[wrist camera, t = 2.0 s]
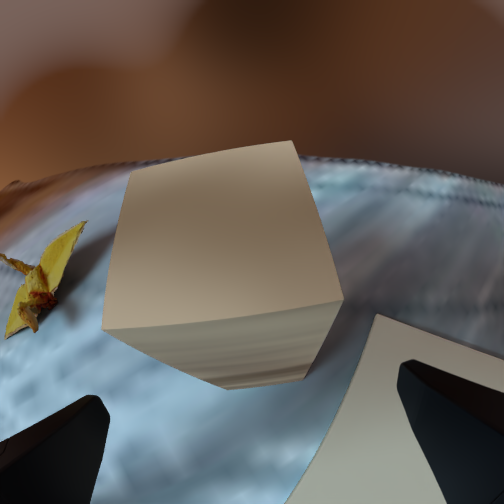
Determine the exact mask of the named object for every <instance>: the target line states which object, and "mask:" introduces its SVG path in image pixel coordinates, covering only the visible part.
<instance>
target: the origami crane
mask: <svg viewBox="0 0 504 504" xmlns="http://www.w3.org/2000/svg"><path fill="white" fill-rule="evenodd" d="M87 221H88V220H87ZM87 221H82V222H80V223H79V224H77V225H75V226H73V227H71V228H70V229H69V230H67V231H65V232H63V233H62V234H60V235H59V236H58V237H57V238H55V239H54V240H53V241H51V242H50V244H49V245H48V246H47V247H46V248H45V251H44V252H43V254H42V256H41V259H40V263H39V265H38V266H37V267H35V266H31V265H27V264H24V263H23V262H22V261H19V260H17V259H12V258H10V259H7V258H6V256H5V254H1V253H0V260H1V261H2V262H4V263H5V264H6V265H8V266H10V267H11V268H13V269H15V270H18V271H21V272H22V273H23V274H25V275H26V277H25V284H23V285H22V284H21V287H20V288H19V289H18V291H17V294H16V297H15V301H14V304H13V307H12V310H11V313H10V316H9V320H8V323H7V325H6V333H5V339H7V338H8V337H9V336H12V335H13V334H14V333H16V332H17V331H18V330H20V329H22V328H24V327H27V326H29V327H30V328H31V329H32V330H33V332H34V333H35V332H36V331H38V327H39V326H38V321H37V319H36V317H37V315H38V314H39V313H40V312H41V307H43V308H47V307H49V308H48V309H49V310H50V309H52V308H53V306H54V305H56V304H57V302H58V301H57V298H54V292H55V290H56V289H57V288H58V287H57V286H58V285H59V284H60V283H61V281H60V280H61V278H62V277H64V273H63V271H64V268H65V266H66V264H67V263H68V260H69V257H70V256H71V254H72V252H73V250H74V246H75V244H77V242H78V238H79V236H80V234H81V233H82V232H83V229H84V225H85V223H87Z"/></svg>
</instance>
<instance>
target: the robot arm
mask: <svg viewBox="0 0 504 504" xmlns="http://www.w3.org/2000/svg"><path fill="white" fill-rule="evenodd" d="M397 391H398V394H399V397H400V399H401V402H402V404H403V407H404V410H405V412H406V415H407V418H408V421H409V423H410V426H411V429H412V431H413V433H414V435H415V437H416V439H417V441H418V443H419V445H420V447H421V449H422V451H423V453H424V456H425V458H426V460H427V462H428V464H429V466H430V468H431V470H432V472H433V474H434V476H435V479H436V481H437V483H438V485H439V487H440V490H441V492H442V494H443V496H444V499H445V501H446V503H447V504H504V392H501V391H498V390H495V389H492V388H489V387H486V386H484V385H481V384H478V383H475V382H473V381H470V380H467V379H464V378H462V377H459V376H456V375H454V374H451V373H449V372H446V371H443V370H441V369H438V368H436V367H433V366H430V365H428V364H425V363H423V362H420V361H418V360H415V359H411V360H408V361H405V362H402V363H401V364H400V366H399V372H398V378H397ZM109 424H110V415H109V412H108V411H107V409H106V407H105V406H104V404H103V402H102V400H101V399H100V397H98V396H96V395H86V396H84V397H82V398H80V399H79V400H77V401H75V402H73V403H72V404H70V405H68V406H66V407H65V408H63V409H61V410H59V411H57V412H56V413H54V414H52V415H50V416H49V417H47V418H45V419H43V420H41V421H39V422H38V423H36V424H34V425H32V426H30V427H28V428H26V429H25V430H23V431H21V432H19V433H17V434H15V435H13V436H11V437H10V438H7V439H5V440H4V441H2V442H0V504H90V501H91V497H92V493H93V490H94V486H95V482H96V479H97V475H98V472H99V468H100V465H101V462H102V458H103V453H104V448H105V443H106V438H107V433H108V429H109Z"/></svg>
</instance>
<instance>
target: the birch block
mask: <svg viewBox="0 0 504 504" xmlns="http://www.w3.org/2000/svg"><path fill="white" fill-rule="evenodd" d="M343 301H344V297H343V293H342V289H341V286H340V282H339V279H338V275H337V272H336V268H335V265H334V261H333V258H332V255H331V251H330V248H329V245H328V242H327V238H326V235H325V232H324V229H323V226H322V223H321V220H320V217H319V214H318V211H317V208H316V205H315V202H314V199H313V196H312V193H311V190H310V188H309V185H308V182H307V179H306V177H305V174H304V171H303V168H302V166H301V163H300V160H299V158H298V155H297V153H296V150H295V147H294V145H293V143H292V141H284V142H276V143H268V144H261V145H255V146H248V147H242V148H236V149H230V150H225V151H219V152H214V153H208V154H203V155H199V156H194V157H189V158H185V159H180V160H176V161H171V162H167V163H163V164H159V165H155V166H151V167H147V168H144V169H140V170H136V171H133V172H131V174H130V177H129V181H128V185H127V188H126V192H125V196H124V200H123V203H122V207H121V212H120V216H119V220H118V225H117V229H116V234H115V239H114V244H113V249H112V254H111V260H110V265H109V271H108V278H107V285H106V292H105V300H104V308H103V317H102V328H101V330H103V331H104V332H106V333H108V334H110V335H111V336H113V337H115V338H117V339H118V340H120V341H122V342H124V343H126V344H127V345H129V346H131V347H133V348H135V349H137V350H139V351H141V352H143V353H145V354H147V355H149V356H151V357H153V358H155V359H157V360H159V361H161V362H163V363H165V364H167V365H169V366H171V367H173V368H176V369H178V370H180V371H182V372H184V373H187V374H189V375H191V376H194V377H196V378H198V379H201V380H203V381H206V382H208V383H211V384H213V385H216V386H218V387H221V388H223V389H226V390H234V389H244V388H253V387H262V386H269V385H276V384H283V383H289V382H295V381H301V380H303V379H304V377H305V376H306V374H307V372H308V370H309V368H310V366H311V365H312V363H313V361H314V359H315V357H316V355H317V353H318V352H319V350H320V348H321V346H322V344H323V342H324V340H325V338H326V336H327V334H328V332H329V330H330V328H331V326H332V324H333V322H334V320H335V318H336V316H337V314H338V312H339V309H340V307H341V305H342V303H343Z"/></svg>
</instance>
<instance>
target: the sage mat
mask: <svg viewBox="0 0 504 504" xmlns="http://www.w3.org/2000/svg"><path fill="white" fill-rule="evenodd" d="M411 359H415V360H418V361H420V362H423V363H425V364H428V365H430V366H433V367H436V368H438V369H441V370H443V371H446V372H449V373H451V374H454V375H456V376H459V377H462V378H464V379H467V380H470V381H473V382H475V383H478V384H481V385H484V386H486V387H489V388H492V389H495V390H498V391H501V392H504V360H502V359H499V358H496V357H493V356H491V355H488V354H485V353H482V352H479V351H477V350H474V349H471V348H468V347H466V346H463V345H460V344H457V343H455V342H452V341H449V340H447V339H444V338H441V337H438V336H436V335H433V334H430V333H428V332H425V331H422V330H420V329H417V328H414V327H412V326H409V325H406V324H404V323H401V322H398V321H396V320H393V319H390V318H388V317H385V316H382V315H380V314H376V315H375V318H374V321H373V324H372V327H371V330H370V333H369V335H368V338H367V341H366V344H365V346H364V349H363V352H362V354H361V357H360V360H359V362H358V365H357V367H356V370H355V372H354V375H353V377H352V379H351V382H350V384H349V386H348V389H347V391H346V393H345V396H344V398H343V400H342V402H341V404H340V406H339V409H338V411H337V413H336V415H335V417H334V419H333V421H332V423H331V425H330V427H329V429H328V431H327V433H326V435H325V437H324V439H323V440H322V442H321V444H320V446H319V448H318V450H317V451H316V453H315V455H314V457H313V459H312V460H311V462H310V464H309V465H308V467H307V469H306V470H305V472H304V474H303V475H302V477H301V479H300V480H299V482H298V483H297V485H296V486H295V488H294V490H293V491H292V493H291V494H290V496H289V497H288V499H287V500H286V501H285V503H284V504H447V503H446V501H445V499H444V496H443V494H442V492H441V490H440V487H439V485H438V483H437V481H436V479H435V476H434V474H433V472H432V470H431V468H430V466H429V464H428V462H427V460H426V458H425V456H424V453H423V451H422V449H421V447H420V445H419V443H418V441H417V439H416V437H415V435H414V433H413V431H412V429H411V426H410V423H409V421H408V418H407V415H406V412H405V410H404V407H403V404H402V402H401V399H400V397H399V394H398V391H397V378H398V372H399V366H400V364H401V363H402V362H405V361H408V360H411Z"/></svg>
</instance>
